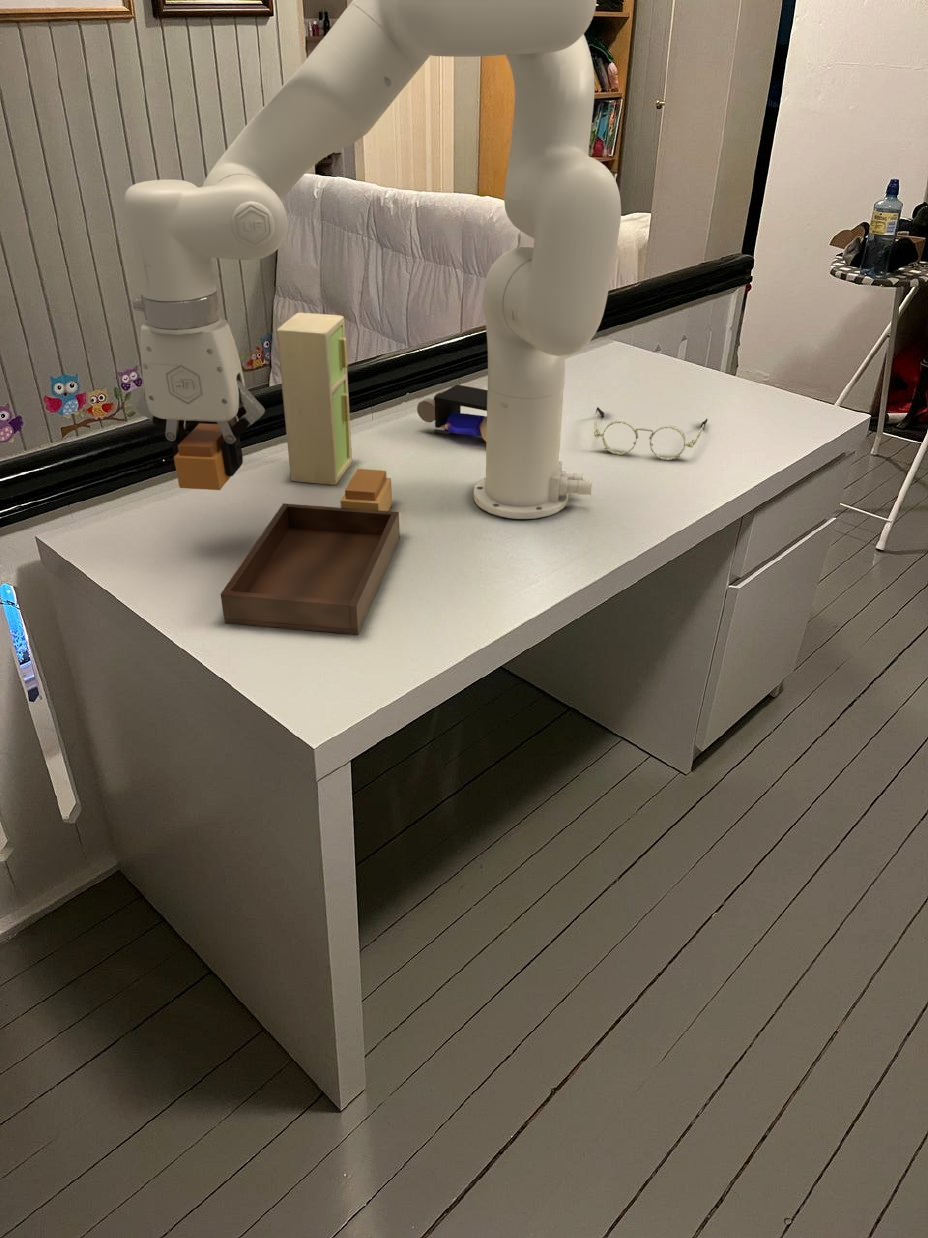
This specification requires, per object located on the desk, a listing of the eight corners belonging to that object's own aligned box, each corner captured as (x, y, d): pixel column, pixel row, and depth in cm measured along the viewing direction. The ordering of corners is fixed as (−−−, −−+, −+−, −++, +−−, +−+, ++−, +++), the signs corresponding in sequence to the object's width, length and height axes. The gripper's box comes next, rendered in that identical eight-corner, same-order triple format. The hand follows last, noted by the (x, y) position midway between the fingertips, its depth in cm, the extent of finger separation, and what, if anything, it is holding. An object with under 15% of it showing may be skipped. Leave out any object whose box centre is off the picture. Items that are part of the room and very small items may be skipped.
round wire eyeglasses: (583, 450, 140) (585, 418, 137) (599, 414, 152) (601, 384, 149) (700, 464, 136) (705, 431, 133) (706, 425, 148) (711, 395, 145)
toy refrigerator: (341, 486, 129) (330, 332, 117) (290, 481, 130) (274, 328, 118) (358, 463, 135) (349, 315, 124) (309, 458, 136) (296, 311, 125)
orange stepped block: (242, 462, 112) (236, 422, 109) (219, 490, 106) (212, 448, 103) (204, 460, 113) (197, 421, 110) (179, 488, 107) (171, 446, 104)
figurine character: (417, 442, 145) (500, 454, 138) (411, 394, 142) (496, 403, 134) (442, 428, 150) (523, 439, 142) (437, 381, 146) (520, 389, 138)
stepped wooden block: (392, 504, 124) (390, 469, 122) (379, 530, 118) (377, 494, 115) (356, 501, 125) (354, 466, 122) (342, 527, 119) (339, 491, 116)
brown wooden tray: (399, 537, 117) (399, 511, 115) (358, 634, 99) (356, 605, 97) (285, 528, 118) (283, 503, 116) (224, 622, 100) (220, 594, 98)
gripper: (90, 318, 97) (127, 480, 107) (248, 323, 95) (271, 488, 105) (122, 298, 103) (154, 453, 113) (272, 302, 101) (291, 460, 111)
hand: (210, 468), depth 109 cm, fingers closed on orange stepped block, 4 cm apart
